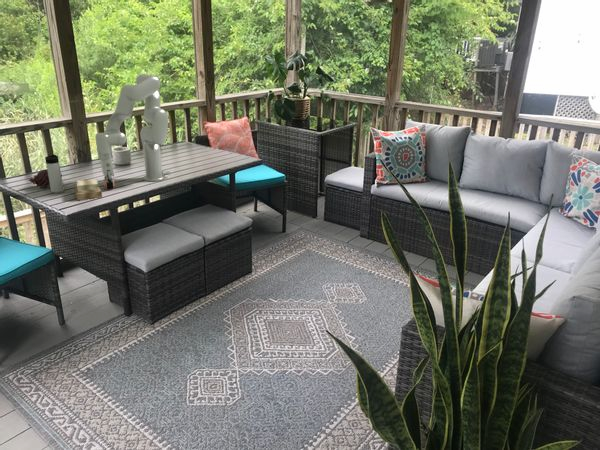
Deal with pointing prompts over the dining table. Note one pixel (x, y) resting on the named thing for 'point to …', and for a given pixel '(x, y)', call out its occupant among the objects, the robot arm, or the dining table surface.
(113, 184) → the terracotta round block
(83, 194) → the oak base block
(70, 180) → the dining table surface
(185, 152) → the dining table surface
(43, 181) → the pine cone
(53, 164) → the travel mug
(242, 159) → the dining table surface
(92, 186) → the maple top block
